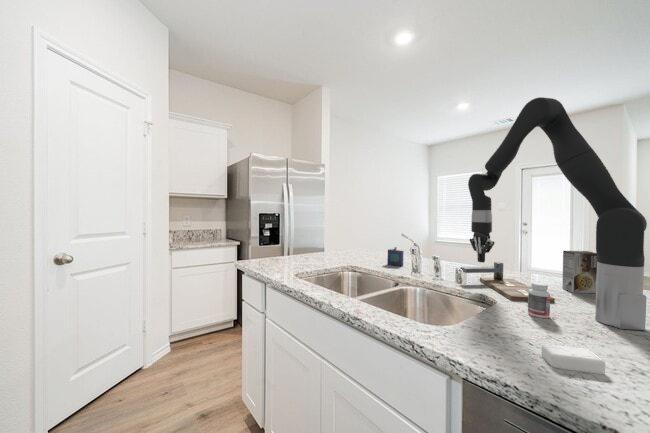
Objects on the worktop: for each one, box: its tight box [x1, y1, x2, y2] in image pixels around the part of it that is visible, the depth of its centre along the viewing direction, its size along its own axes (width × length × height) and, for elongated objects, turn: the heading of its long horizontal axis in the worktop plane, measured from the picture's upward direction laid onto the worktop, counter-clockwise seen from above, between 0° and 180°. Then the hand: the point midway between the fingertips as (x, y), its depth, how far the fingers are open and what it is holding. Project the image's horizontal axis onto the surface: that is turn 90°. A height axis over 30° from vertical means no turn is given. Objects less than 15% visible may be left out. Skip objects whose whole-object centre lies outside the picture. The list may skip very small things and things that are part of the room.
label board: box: [479, 277, 556, 304], centre depth 112 cm, size 28×14×2 cm, turn 172°
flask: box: [386, 246, 404, 267], centre depth 161 cm, size 9×3×11 cm, turn 61°
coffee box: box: [561, 250, 598, 294], centre depth 112 cm, size 9×6×16 cm
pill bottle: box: [527, 281, 551, 319], centre depth 85 cm, size 5×5×10 cm
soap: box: [540, 343, 606, 375], centre depth 58 cm, size 9×6×3 cm, turn 75°
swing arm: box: [459, 261, 504, 280], centre depth 123 cm, size 19×4×7 cm, turn 97°
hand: (481, 262), depth 117 cm, fingers closed
